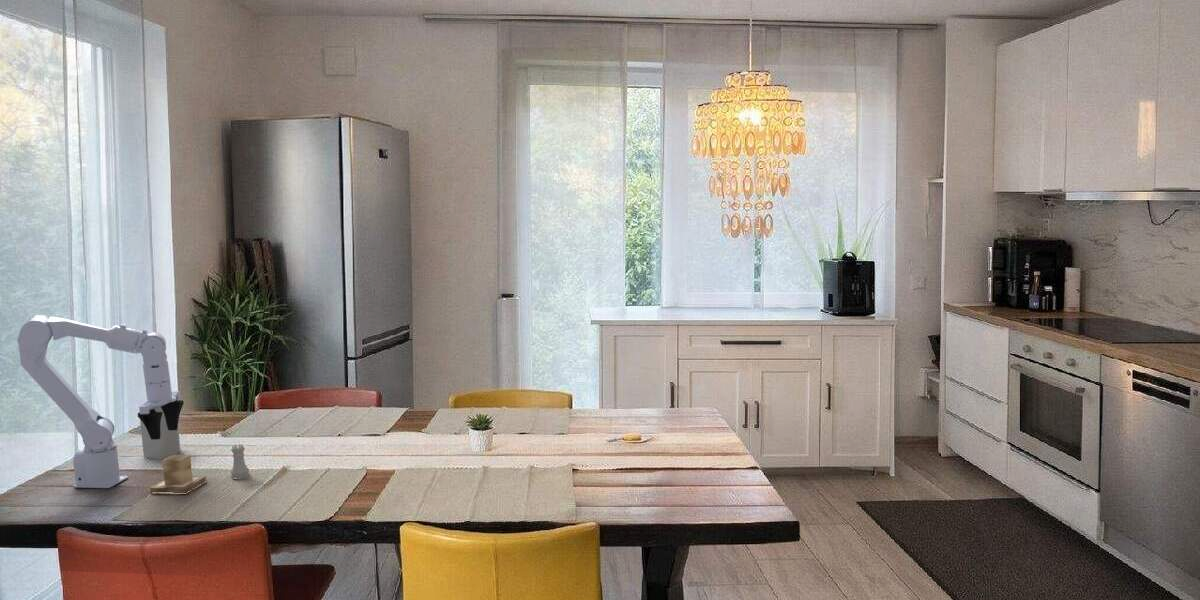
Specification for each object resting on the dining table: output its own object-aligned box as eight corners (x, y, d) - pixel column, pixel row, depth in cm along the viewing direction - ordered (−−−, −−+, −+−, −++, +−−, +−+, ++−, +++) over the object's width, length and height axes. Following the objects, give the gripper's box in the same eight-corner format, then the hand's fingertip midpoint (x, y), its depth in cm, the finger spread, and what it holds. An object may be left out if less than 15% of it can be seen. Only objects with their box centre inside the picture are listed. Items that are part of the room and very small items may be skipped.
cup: (145, 450, 276) (141, 407, 274) (181, 446, 278) (177, 404, 277) (141, 459, 267) (137, 415, 265) (178, 455, 270) (174, 411, 268)
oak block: (164, 484, 241) (162, 460, 240) (175, 478, 245) (172, 454, 245) (182, 484, 240) (180, 460, 240) (192, 478, 245) (190, 454, 244)
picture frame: (150, 493, 239) (150, 487, 239) (172, 481, 248) (171, 475, 248) (186, 494, 238) (185, 488, 238) (206, 482, 247) (205, 476, 247)
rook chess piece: (243, 480, 248) (241, 448, 247) (227, 479, 249) (224, 447, 247) (253, 474, 252) (250, 443, 251) (237, 473, 253) (234, 442, 252)
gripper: (155, 388, 242) (162, 443, 244) (188, 374, 256) (194, 425, 258) (128, 388, 243) (135, 443, 245) (162, 374, 257) (169, 426, 260)
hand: (164, 434), depth 252 cm, fingers open, 7 cm apart
